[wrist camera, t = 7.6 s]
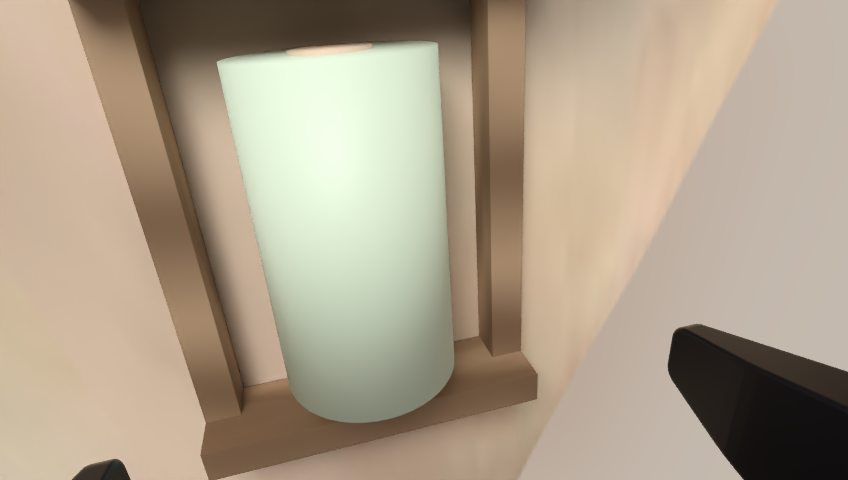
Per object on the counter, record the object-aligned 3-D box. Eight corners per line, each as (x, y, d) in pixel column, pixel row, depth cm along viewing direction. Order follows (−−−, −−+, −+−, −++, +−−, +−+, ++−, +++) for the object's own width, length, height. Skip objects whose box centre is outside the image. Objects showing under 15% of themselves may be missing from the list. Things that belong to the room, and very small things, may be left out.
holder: (505, 353, 22) (536, 398, 20) (218, 419, 20) (209, 481, 17) (505, -80, 16) (552, -99, 13) (68, -62, 13) (15, -80, 10)
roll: (429, 306, 21) (479, 399, 16) (287, 335, 19) (292, 445, 14) (408, 34, 16) (468, 43, 11) (225, 50, 15) (201, 67, 10)
